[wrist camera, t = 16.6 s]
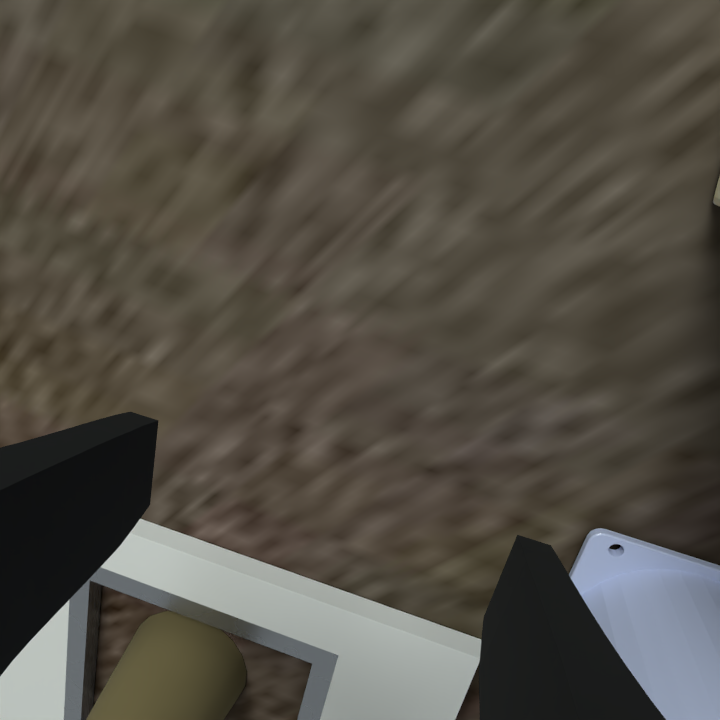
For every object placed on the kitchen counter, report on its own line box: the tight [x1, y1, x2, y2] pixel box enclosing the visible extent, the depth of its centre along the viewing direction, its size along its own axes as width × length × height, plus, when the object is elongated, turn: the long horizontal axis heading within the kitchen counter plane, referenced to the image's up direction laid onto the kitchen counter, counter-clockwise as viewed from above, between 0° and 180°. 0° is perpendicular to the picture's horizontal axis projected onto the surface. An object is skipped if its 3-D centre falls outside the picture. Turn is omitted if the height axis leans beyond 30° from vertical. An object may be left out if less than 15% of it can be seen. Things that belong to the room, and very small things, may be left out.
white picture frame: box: [0, 519, 481, 720], centre depth 28 cm, size 24×18×1 cm
